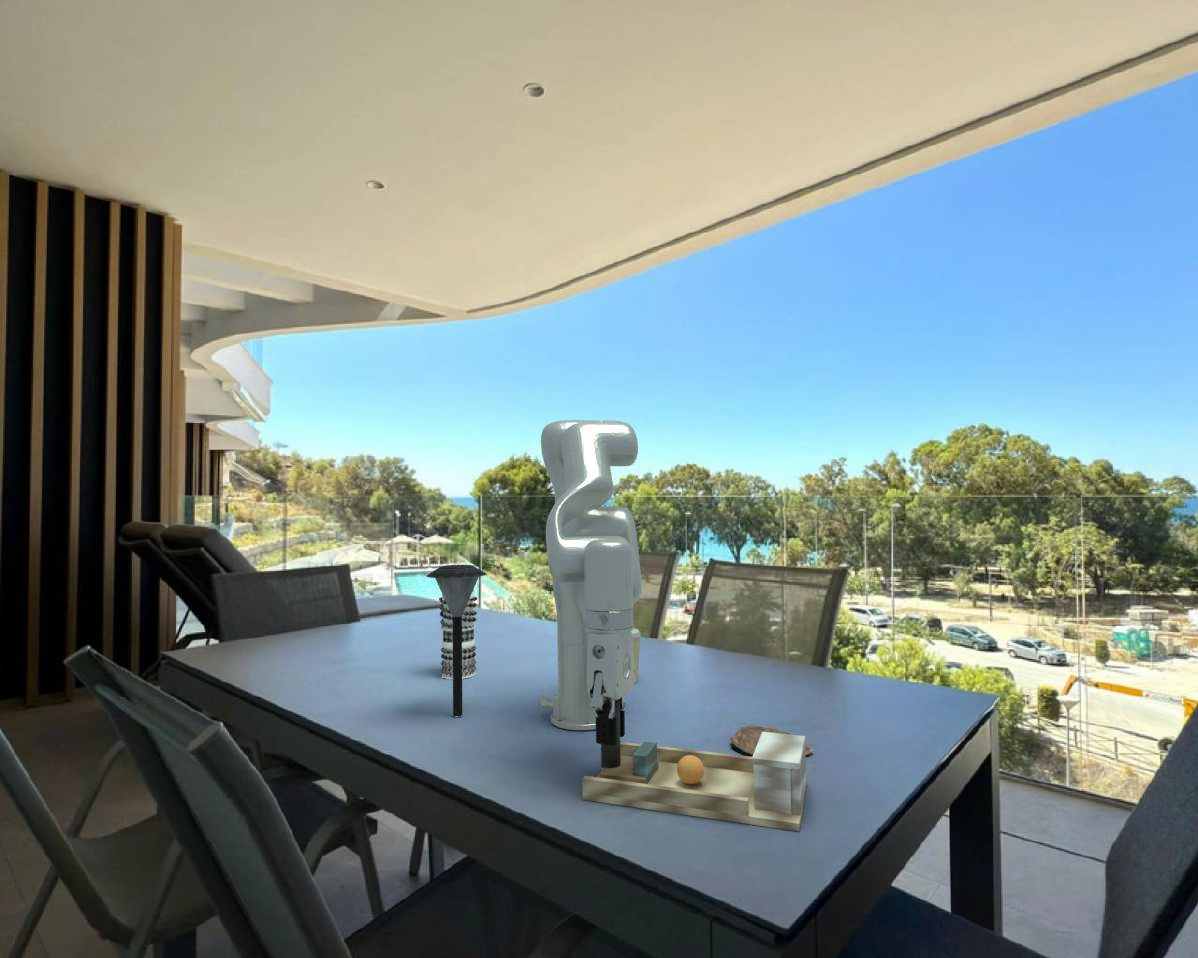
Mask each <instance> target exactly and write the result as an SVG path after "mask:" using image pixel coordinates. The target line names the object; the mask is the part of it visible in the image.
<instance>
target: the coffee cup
mask: <svg viewBox="0 0 1198 958" xmlns="http://www.w3.org/2000/svg"><path fill="white" fill-rule="evenodd" d="M631 632H632V638H633V649H634V665H635V684H637V683H638V680H639V667H640V645H641V632H640V630H639V629H638V628H635V627H633V630H632V631H631Z"/></svg>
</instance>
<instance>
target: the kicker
mask: <svg viewBox="0 0 1198 958" xmlns="http://www.w3.org/2000/svg"><path fill="white" fill-rule="evenodd" d="M604 704H607V705H608V707H609V702H604ZM614 718H617V744H616V745H614V746H613V745H605V744H600V766H601V769H602V770H600V772H599V773H598V775H599V778H605V779H613V780H620V781H628V782H635V783H642V784H647V782H648V781H649V779H650V778H651V777H652V775H653V774H654V772H655V771H656V770H657V768H658V767H659V760H657V746H658V743H657V742H651V741H645V740H644V741H643V742H642V743H641V744H642V745H641V746H640V747H639V748H638V749H637V750H636V752H635V753H634V754H633V757H629V756H621V753H620V742H621V737H620V700H615V709H614Z"/></svg>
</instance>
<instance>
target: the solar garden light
mask: <svg viewBox="0 0 1198 958" xmlns="http://www.w3.org/2000/svg"><path fill="white" fill-rule="evenodd" d="M487 575H488V573H487V572H485V571H483V570H481V569H480V568H478V567H476V566H474V565H471V564H449V565H448V564H447V565H441V566H439V567H438V568H436V569H434V570H433V571H431V572H430V573H428V574H426V575H425V576H426V578H431V579H435V581H436V583H437V586H438V588H439V590H440V592H441V595H442V594H443V597H444V599H445V601H446V603H447V605H448V608H449V610H450V612H451V614H452V621H453V680H452V716H453V715H454V716H461V715H462V716H463V680H462V615H463V612H464V610H465V608H466V605H467V603H468V601H469V598H470V596H471V594H472V592H473V590H474V589H475V587H476V585H477V582H478V581H479V577H483V576H484V577H485V576H487Z"/></svg>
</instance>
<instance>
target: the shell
mask: <svg viewBox="0 0 1198 958" xmlns="http://www.w3.org/2000/svg"><path fill="white" fill-rule="evenodd" d="M762 732H770V733H780V734H789V735H791V734H790V733H789V732H786V731H783V730H781V729H777V728H772V727H770V726H766V727H765V726H759V725H753V724H749V725H746V726H741V727H740V728H739V729H738V730H737V731H736V732H735V733H734V735H733V736H731V738H730V747H731V748H732V749H734V750H735V752H737V753H741V754H743V756H749V757H753V754H754V752H755V749H756V746H757V744H758V741H759V739H760V736H761V733H762ZM811 753H813V749H812V748H810V747H809V746H807V745H805V758H806V757H809V756H810V755H811Z"/></svg>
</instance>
